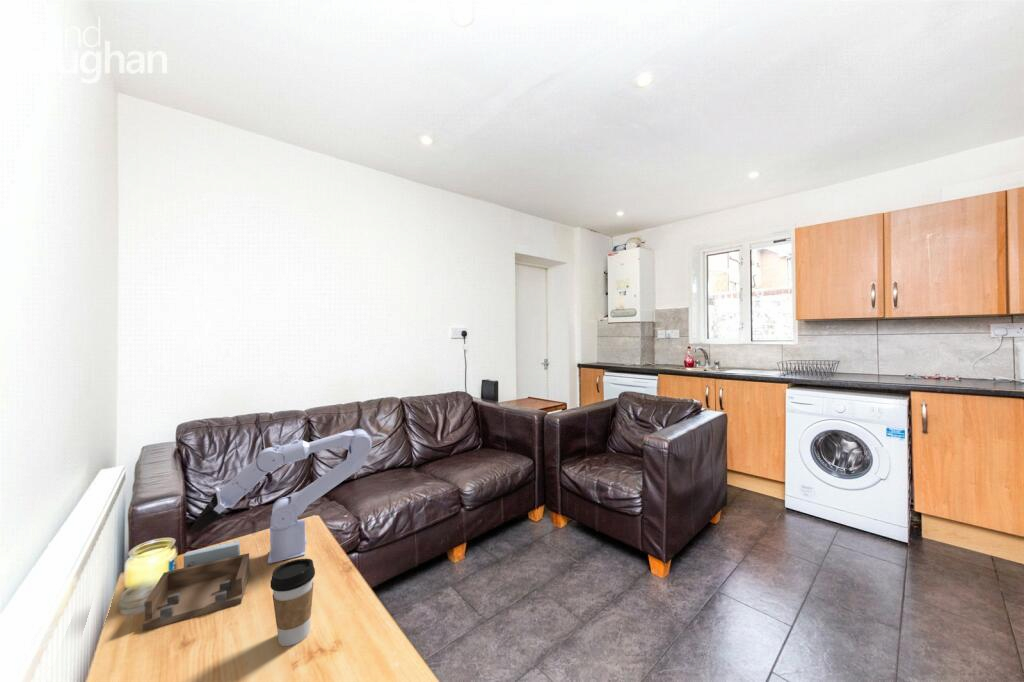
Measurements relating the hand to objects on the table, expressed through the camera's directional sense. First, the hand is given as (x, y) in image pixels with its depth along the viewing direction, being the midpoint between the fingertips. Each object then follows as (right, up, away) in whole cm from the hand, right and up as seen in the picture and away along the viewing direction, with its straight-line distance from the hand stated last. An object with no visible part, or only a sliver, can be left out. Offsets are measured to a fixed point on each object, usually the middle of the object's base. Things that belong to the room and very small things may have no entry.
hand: (197, 524), depth 104 cm
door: (+3, -14, +1) cm, 15 cm away
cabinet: (+9, -14, -9) cm, 19 cm away
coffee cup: (+39, -14, -22) cm, 47 cm away
